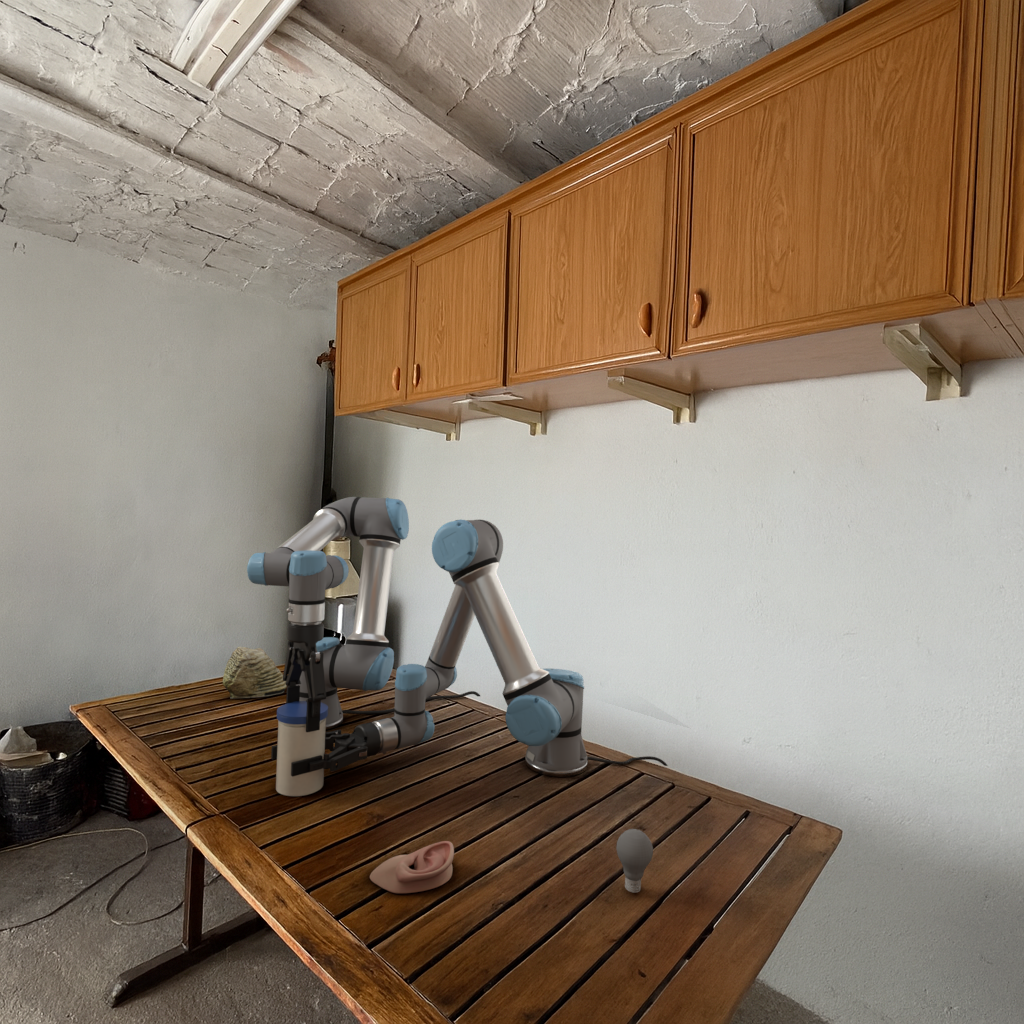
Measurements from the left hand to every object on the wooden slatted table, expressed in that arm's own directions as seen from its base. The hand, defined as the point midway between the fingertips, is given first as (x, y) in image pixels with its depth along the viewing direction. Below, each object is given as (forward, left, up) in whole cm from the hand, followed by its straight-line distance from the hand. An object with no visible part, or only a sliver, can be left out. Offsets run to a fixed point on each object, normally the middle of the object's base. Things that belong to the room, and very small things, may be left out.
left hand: (302, 722), depth 138 cm
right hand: (+4, -1, -7) cm, 9 cm away
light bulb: (-16, +72, -14) cm, 76 cm away
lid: (0, 0, +3) cm, 3 cm away
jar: (0, 0, -14) cm, 14 cm away
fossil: (-25, -64, -14) cm, 70 cm away
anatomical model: (+6, +42, -14) cm, 45 cm away
